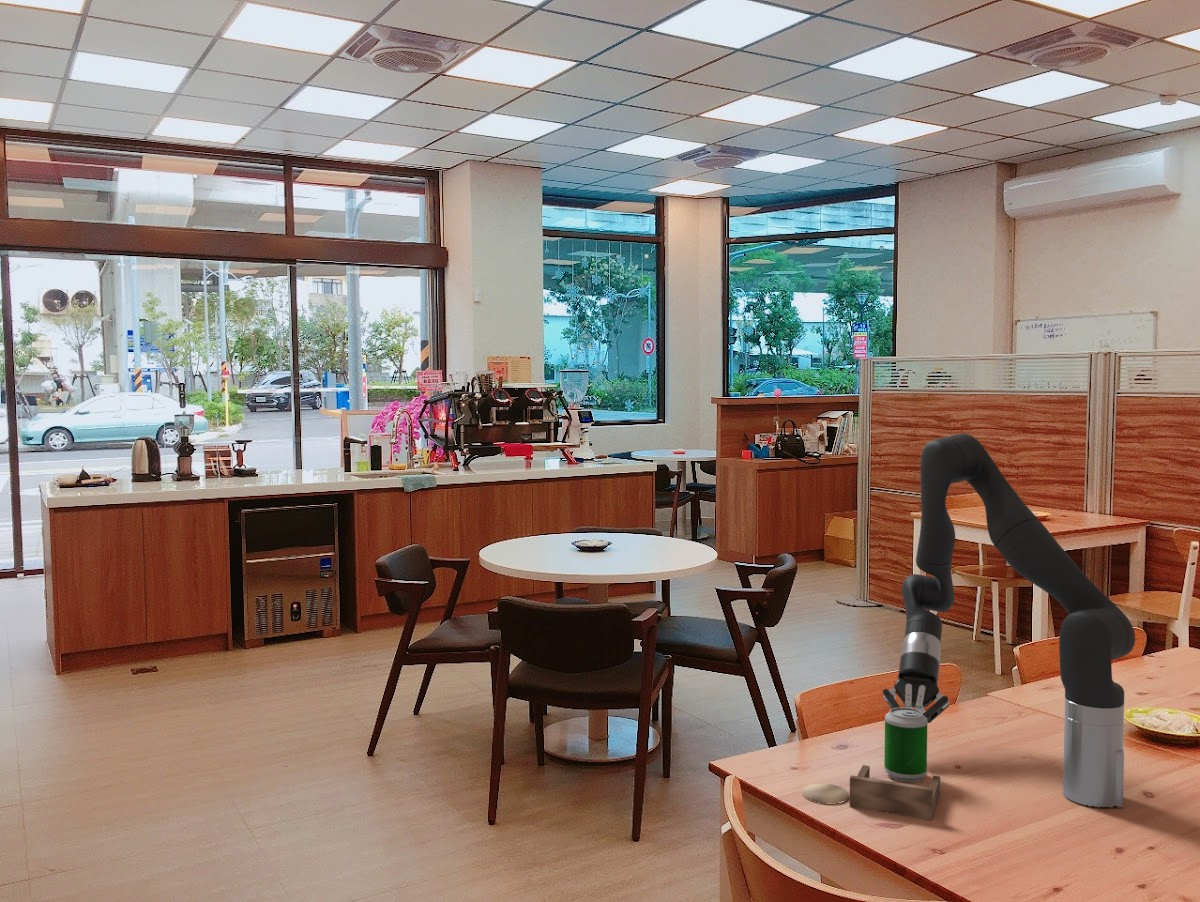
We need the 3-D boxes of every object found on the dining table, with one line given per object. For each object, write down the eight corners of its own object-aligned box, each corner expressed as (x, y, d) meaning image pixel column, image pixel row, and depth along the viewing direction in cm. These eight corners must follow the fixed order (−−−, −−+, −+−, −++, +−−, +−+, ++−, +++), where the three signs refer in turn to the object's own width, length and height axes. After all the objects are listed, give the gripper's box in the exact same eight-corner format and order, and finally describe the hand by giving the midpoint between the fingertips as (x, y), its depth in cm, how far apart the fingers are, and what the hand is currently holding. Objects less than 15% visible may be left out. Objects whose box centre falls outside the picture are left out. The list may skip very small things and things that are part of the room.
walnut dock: (939, 793, 175) (940, 765, 175) (931, 820, 164) (931, 790, 164) (862, 781, 181) (863, 754, 180) (849, 806, 169) (849, 777, 169)
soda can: (929, 785, 179) (930, 719, 178) (885, 782, 180) (886, 717, 180) (924, 770, 186) (925, 707, 185) (882, 767, 188) (883, 704, 187)
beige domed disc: (852, 790, 176) (852, 787, 176) (843, 807, 169) (843, 804, 169) (808, 783, 180) (808, 780, 180) (797, 799, 172) (797, 796, 172)
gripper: (884, 646, 200) (872, 724, 189) (953, 653, 194) (945, 734, 184) (888, 666, 205) (877, 743, 194) (955, 673, 199) (948, 753, 189)
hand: (910, 739), depth 189 cm, fingers closed
